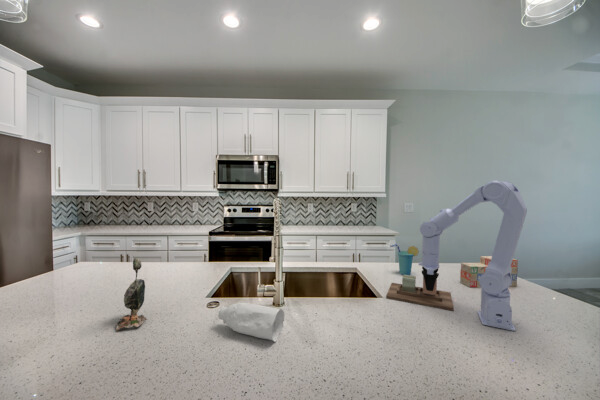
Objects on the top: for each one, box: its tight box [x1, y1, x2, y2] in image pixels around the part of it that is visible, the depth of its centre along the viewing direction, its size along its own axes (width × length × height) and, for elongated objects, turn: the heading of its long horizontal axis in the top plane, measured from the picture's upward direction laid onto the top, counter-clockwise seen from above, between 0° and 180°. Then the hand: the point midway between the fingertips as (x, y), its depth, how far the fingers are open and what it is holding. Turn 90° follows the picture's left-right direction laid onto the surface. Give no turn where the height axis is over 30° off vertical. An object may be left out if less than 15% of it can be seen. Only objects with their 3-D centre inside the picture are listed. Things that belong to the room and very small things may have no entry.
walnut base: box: [385, 275, 455, 312], centre depth 98 cm, size 16×22×7 cm
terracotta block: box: [422, 275, 438, 295], centre depth 96 cm, size 4×4×6 cm
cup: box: [389, 243, 420, 276], centre depth 125 cm, size 14×8×15 cm, turn 94°
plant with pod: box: [115, 257, 147, 331], centre depth 75 cm, size 8×11×20 cm
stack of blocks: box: [459, 255, 519, 288], centre depth 111 cm, size 21×6×12 cm, turn 93°
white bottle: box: [217, 302, 285, 343], centre depth 71 cm, size 8×19×8 cm, turn 69°
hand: (429, 288), depth 96 cm, fingers closed on terracotta block, 4 cm apart
